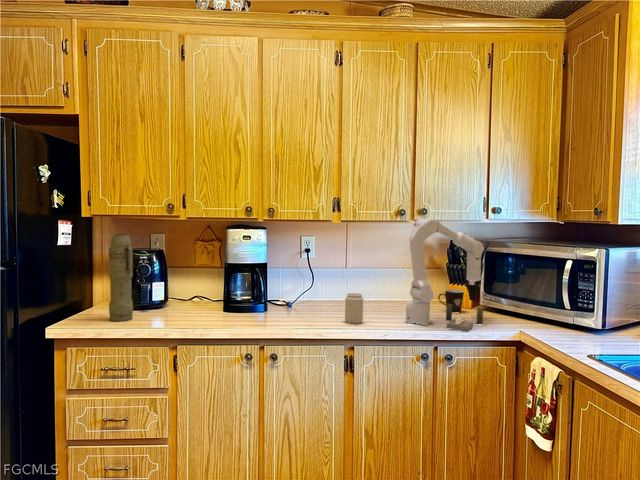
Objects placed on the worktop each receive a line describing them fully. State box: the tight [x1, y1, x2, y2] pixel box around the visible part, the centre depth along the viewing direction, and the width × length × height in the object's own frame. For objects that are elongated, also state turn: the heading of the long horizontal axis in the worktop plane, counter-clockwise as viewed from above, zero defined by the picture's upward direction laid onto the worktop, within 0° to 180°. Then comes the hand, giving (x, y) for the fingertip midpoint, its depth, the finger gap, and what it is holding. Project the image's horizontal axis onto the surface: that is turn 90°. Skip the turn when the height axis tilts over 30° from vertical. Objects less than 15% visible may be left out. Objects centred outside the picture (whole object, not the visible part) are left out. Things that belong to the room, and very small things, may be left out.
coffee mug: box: [438, 288, 465, 312], centre depth 209 cm, size 12×9×10 cm
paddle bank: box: [455, 315, 466, 325], centre depth 179 cm, size 2×9×2 cm, turn 147°
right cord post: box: [476, 307, 484, 325], centre depth 185 cm, size 2×2×7 cm
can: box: [344, 292, 364, 325], centre depth 184 cm, size 8×8×12 cm
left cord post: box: [445, 304, 453, 321], centre depth 192 cm, size 2×2×7 cm
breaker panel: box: [446, 318, 474, 333], centre depth 180 cm, size 8×10×2 cm
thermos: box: [108, 233, 134, 323], centre depth 180 cm, size 9×12×35 cm
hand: (473, 298), depth 193 cm, fingers open, 7 cm apart
